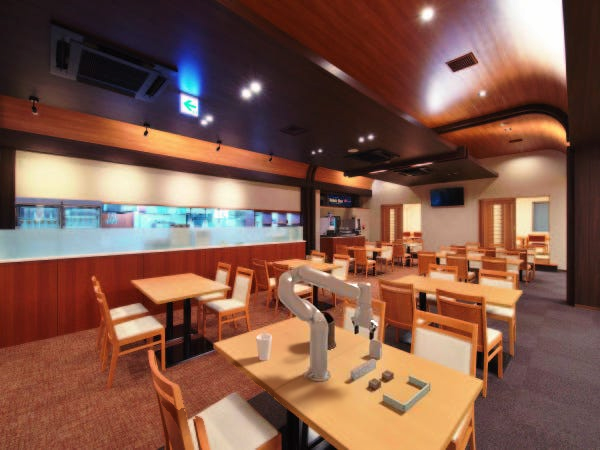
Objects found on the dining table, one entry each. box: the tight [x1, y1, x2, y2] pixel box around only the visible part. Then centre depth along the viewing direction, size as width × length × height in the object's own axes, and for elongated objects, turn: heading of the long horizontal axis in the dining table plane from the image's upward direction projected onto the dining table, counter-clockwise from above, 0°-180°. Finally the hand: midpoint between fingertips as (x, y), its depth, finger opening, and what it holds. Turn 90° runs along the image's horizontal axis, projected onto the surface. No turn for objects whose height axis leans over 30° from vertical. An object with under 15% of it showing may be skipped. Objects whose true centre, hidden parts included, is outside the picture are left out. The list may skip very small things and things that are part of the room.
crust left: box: [368, 377, 382, 392], centre depth 136 cm, size 5×4×3 cm
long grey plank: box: [349, 357, 377, 382], centre depth 149 cm, size 20×2×5 cm, turn 131°
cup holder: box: [319, 310, 337, 351], centre depth 182 cm, size 18×24×25 cm
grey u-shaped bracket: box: [382, 374, 431, 414], centre depth 130 cm, size 25×11×4 cm, turn 131°
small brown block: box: [381, 369, 395, 382], centre depth 144 cm, size 5×4×3 cm
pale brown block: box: [368, 339, 383, 360], centre depth 168 cm, size 4×7×10 cm, turn 53°
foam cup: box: [255, 333, 273, 362], centre depth 165 cm, size 10×9×13 cm
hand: (363, 336), depth 149 cm, fingers open, 9 cm apart
